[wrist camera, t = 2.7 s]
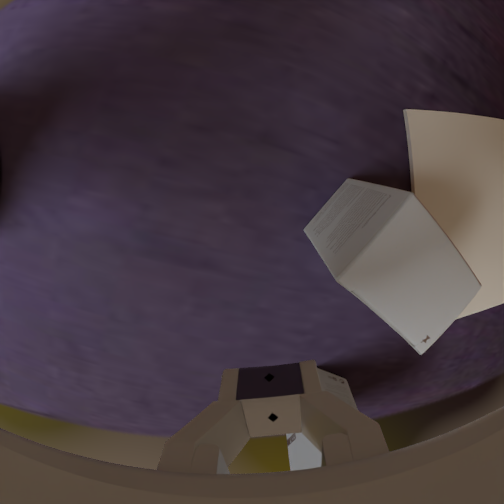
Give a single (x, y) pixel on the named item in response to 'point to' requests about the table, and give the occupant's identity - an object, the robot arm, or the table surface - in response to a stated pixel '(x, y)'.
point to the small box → (394, 259)
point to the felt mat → (463, 189)
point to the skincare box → (298, 444)
